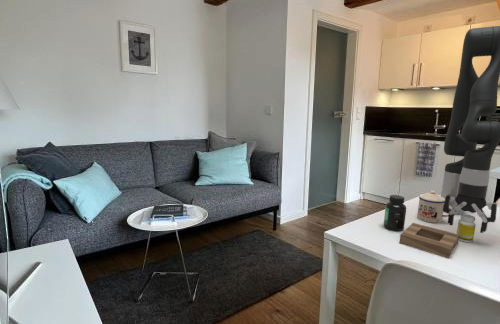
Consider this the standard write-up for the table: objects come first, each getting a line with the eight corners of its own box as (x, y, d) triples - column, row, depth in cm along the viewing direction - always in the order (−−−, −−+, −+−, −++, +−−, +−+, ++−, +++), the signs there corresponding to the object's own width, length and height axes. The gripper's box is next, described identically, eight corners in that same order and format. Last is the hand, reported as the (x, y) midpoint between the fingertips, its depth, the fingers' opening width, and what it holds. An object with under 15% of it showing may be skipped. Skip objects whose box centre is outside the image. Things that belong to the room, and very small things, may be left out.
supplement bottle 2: (475, 243, 100) (479, 219, 98) (459, 241, 101) (463, 218, 99) (468, 237, 104) (472, 214, 103) (453, 235, 105) (457, 213, 104)
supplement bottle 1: (383, 229, 110) (386, 198, 107) (383, 222, 116) (387, 192, 113) (404, 233, 107) (408, 200, 104) (403, 226, 113) (407, 195, 110)
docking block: (412, 230, 109) (413, 222, 108) (457, 243, 100) (459, 234, 99) (399, 242, 99) (400, 234, 98) (448, 258, 90) (450, 248, 89)
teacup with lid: (412, 218, 121) (416, 190, 118) (420, 213, 127) (424, 186, 124) (446, 227, 112) (451, 198, 110) (454, 221, 118) (458, 193, 116)
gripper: (502, 184, 96) (493, 231, 99) (450, 176, 106) (444, 219, 109) (500, 188, 91) (491, 238, 94) (445, 179, 101) (439, 225, 104)
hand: (465, 228), depth 101 cm, fingers open, 8 cm apart
